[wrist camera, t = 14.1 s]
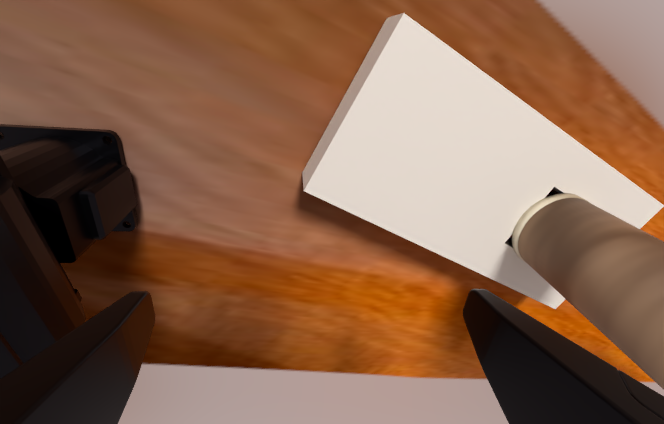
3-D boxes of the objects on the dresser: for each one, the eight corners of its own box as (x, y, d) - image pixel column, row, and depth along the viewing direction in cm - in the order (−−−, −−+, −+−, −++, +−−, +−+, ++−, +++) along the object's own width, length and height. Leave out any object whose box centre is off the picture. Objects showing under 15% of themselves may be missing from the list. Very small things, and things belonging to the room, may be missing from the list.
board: (302, 172, 21) (303, 191, 18) (387, 18, 18) (403, 12, 15) (530, 283, 28) (555, 309, 25) (623, 188, 24) (664, 205, 22)
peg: (490, 249, 25) (658, 422, 13) (492, 188, 23) (702, 336, 11) (556, 234, 25) (781, 394, 14) (566, 171, 23) (851, 301, 11)
